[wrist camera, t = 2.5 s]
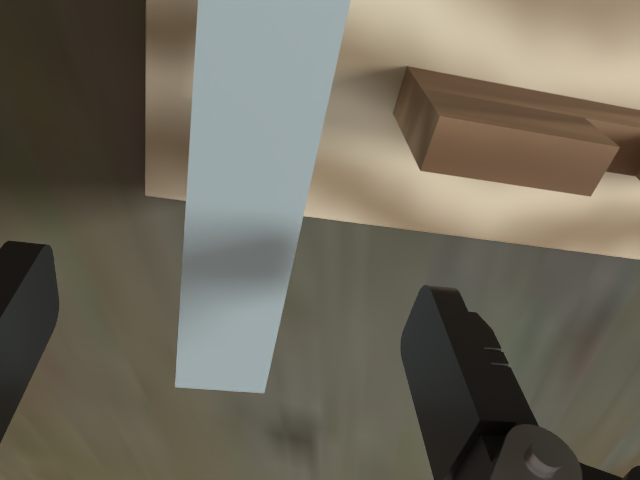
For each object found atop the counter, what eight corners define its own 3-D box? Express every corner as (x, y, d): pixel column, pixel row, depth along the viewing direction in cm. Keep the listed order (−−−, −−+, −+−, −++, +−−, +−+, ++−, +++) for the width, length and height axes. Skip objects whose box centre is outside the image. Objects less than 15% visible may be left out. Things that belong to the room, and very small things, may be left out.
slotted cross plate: (241, -124, 20) (204, -110, 9) (318, -106, 20) (366, -72, 10) (212, 188, 28) (175, 387, 17) (267, 195, 28) (264, 393, 18)
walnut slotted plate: (406, 66, 24) (439, 116, 20) (753, 131, 28) (853, 187, 23) (392, 113, 26) (420, 170, 21) (725, 170, 29) (814, 230, 24)
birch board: (152, -180, 19) (146, -182, 18) (833, -6, 25) (852, -2, 24) (148, 186, 28) (145, 195, 27) (647, 252, 34) (656, 261, 33)
